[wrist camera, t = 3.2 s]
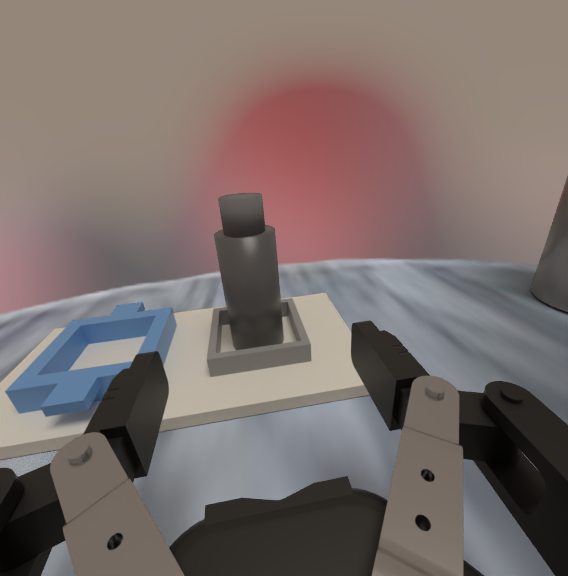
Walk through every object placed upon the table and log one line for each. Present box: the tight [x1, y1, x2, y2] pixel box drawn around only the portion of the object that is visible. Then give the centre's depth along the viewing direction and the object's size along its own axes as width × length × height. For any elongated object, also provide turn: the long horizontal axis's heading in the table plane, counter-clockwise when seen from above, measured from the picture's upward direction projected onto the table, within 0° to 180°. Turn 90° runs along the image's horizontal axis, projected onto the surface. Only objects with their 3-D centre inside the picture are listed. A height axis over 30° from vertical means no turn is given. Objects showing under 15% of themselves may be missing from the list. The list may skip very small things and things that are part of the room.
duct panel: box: [0, 293, 370, 460], centre depth 24 cm, size 28×14×3 cm, turn 99°
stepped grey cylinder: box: [214, 193, 284, 350], centre depth 23 cm, size 4×4×12 cm
